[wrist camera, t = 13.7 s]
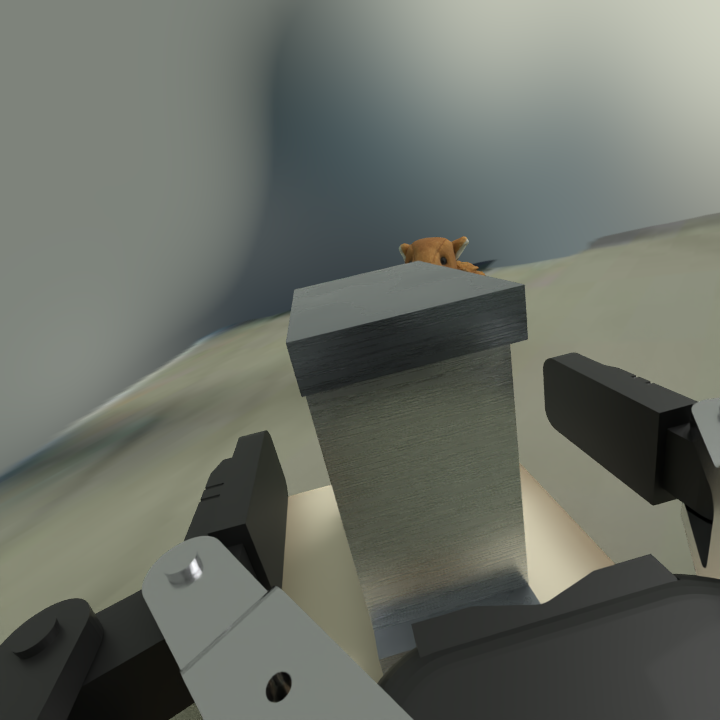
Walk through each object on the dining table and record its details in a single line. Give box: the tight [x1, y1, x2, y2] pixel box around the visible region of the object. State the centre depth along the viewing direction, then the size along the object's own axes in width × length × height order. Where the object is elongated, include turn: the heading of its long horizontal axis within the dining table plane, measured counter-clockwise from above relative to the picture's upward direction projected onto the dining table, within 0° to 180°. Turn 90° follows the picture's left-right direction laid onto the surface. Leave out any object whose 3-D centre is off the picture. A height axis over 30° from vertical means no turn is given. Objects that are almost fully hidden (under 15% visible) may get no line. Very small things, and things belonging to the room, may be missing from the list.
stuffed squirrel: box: [399, 237, 485, 276], centre depth 39 cm, size 10×14×13 cm
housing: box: [286, 261, 541, 675], centre depth 13 cm, size 5×8×11 cm, turn 8°
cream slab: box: [282, 463, 615, 683], centre depth 15 cm, size 12×12×3 cm
